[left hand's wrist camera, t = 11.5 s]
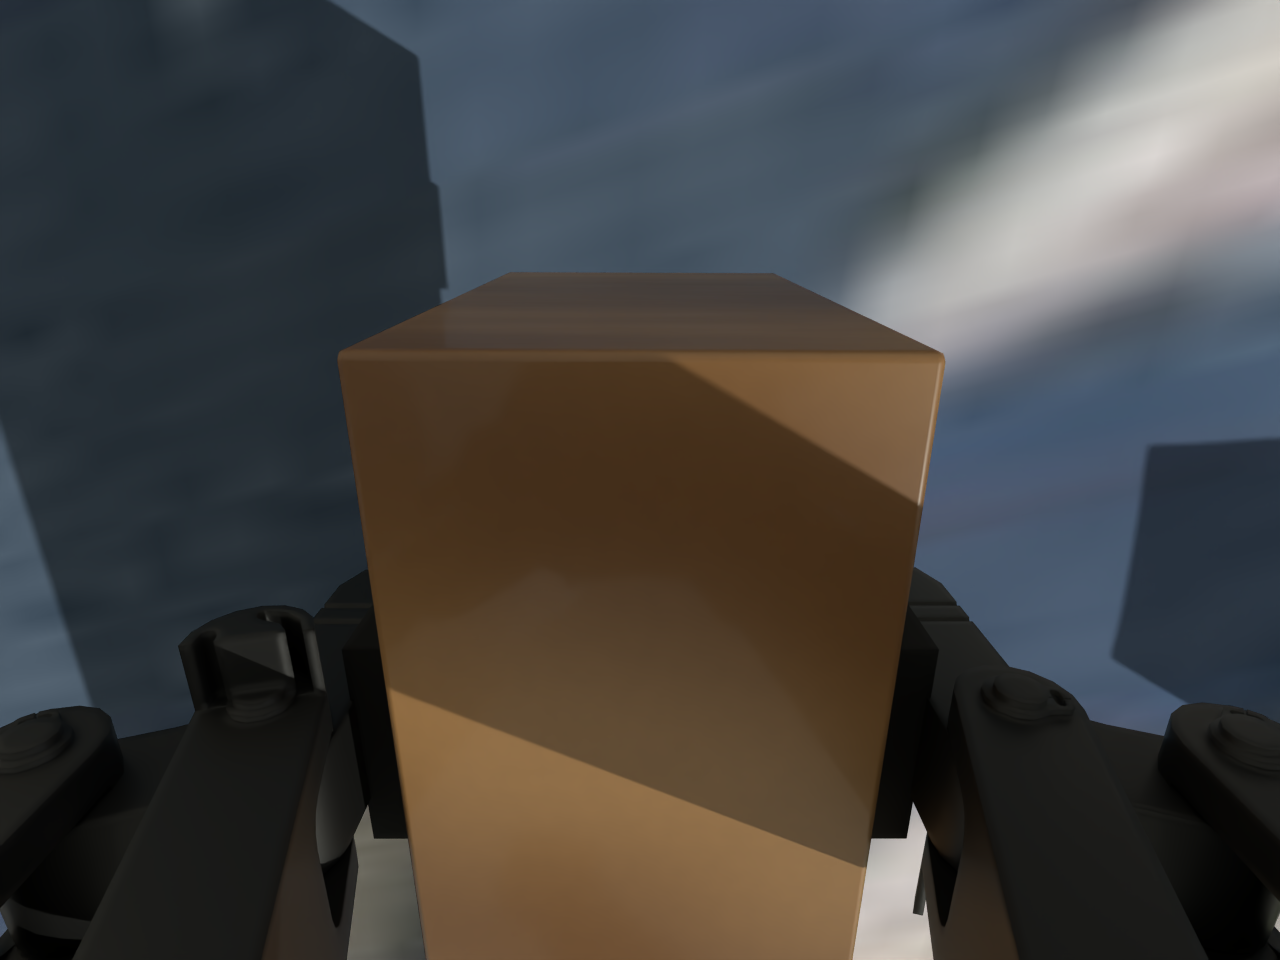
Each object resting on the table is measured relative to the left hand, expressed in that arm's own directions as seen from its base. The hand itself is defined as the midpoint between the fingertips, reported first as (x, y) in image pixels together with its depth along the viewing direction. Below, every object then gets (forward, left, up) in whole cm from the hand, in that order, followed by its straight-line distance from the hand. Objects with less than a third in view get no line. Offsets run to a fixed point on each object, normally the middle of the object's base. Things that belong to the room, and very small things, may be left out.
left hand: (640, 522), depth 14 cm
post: (+7, +22, -1) cm, 24 cm away
